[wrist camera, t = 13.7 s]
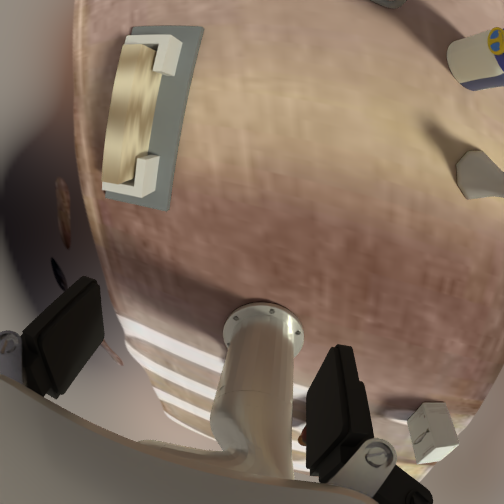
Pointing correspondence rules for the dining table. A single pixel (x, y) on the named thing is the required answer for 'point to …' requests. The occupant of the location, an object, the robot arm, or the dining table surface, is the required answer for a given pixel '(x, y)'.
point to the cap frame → (162, 114)
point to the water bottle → (478, 60)
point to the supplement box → (432, 432)
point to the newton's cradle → (390, 3)
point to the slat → (130, 113)
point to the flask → (479, 176)
